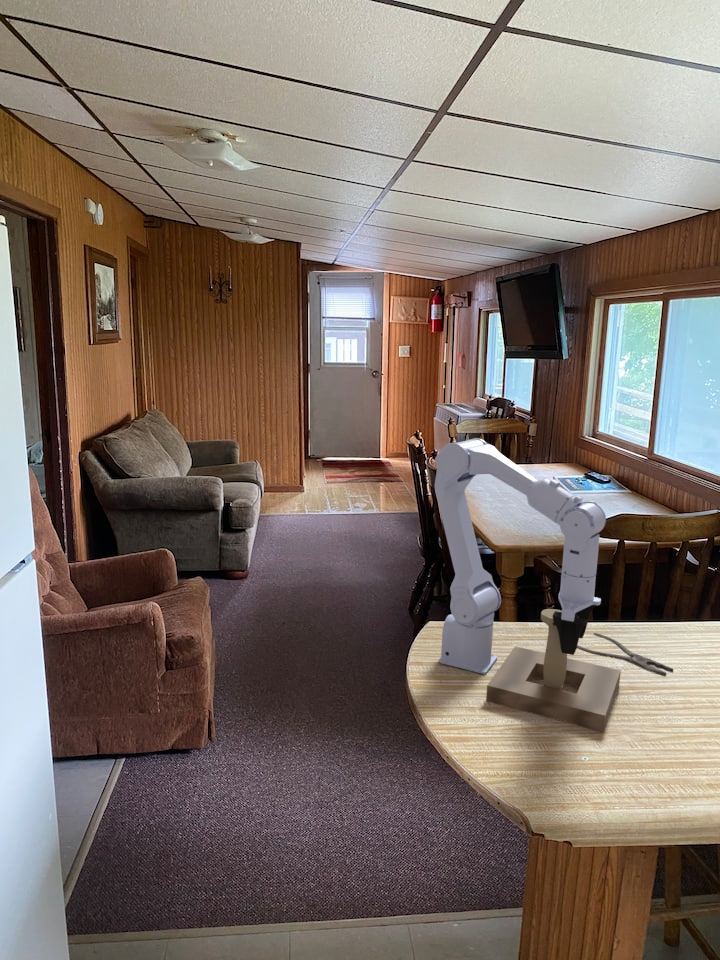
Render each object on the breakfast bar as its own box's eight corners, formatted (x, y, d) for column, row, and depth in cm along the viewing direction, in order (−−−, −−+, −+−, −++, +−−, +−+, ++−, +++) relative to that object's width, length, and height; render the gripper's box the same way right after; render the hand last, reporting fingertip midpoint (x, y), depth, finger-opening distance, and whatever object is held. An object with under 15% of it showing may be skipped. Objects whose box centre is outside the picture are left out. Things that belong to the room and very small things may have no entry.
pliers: (587, 629, 155) (683, 657, 143) (586, 633, 155) (682, 661, 143) (569, 644, 148) (668, 674, 135) (568, 648, 148) (668, 678, 136)
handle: (540, 681, 132) (546, 606, 129) (574, 692, 129) (581, 615, 126) (531, 692, 128) (537, 615, 125) (565, 703, 125) (573, 624, 122)
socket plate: (486, 700, 125) (487, 685, 125) (513, 660, 141) (514, 646, 140) (603, 732, 116) (605, 715, 116) (619, 685, 132) (620, 670, 131)
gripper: (595, 589, 114) (588, 666, 117) (609, 564, 127) (602, 634, 130) (551, 581, 118) (545, 656, 120) (569, 557, 130) (563, 626, 133)
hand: (572, 644), depth 125 cm, fingers open, 7 cm apart
